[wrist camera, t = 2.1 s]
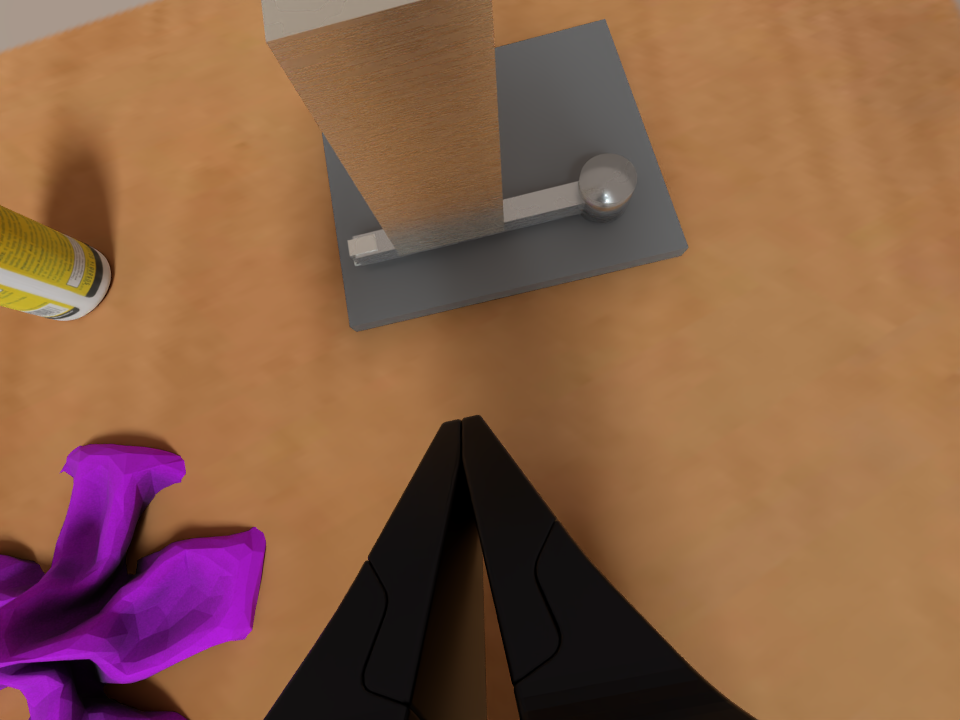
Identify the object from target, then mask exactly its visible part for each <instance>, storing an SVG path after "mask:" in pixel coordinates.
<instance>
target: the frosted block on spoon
mask: <svg viewBox="0 0 960 720" xmlns="http://www.w3.org/2000/svg"><path fill="white" fill-rule="evenodd" d="M261 2H262V11H263V20H264V29H265V37H266V43H267V44H268V46H269V48H270V49H271V51H272V52H273V54H274V56H275V57H276V59H277V60H278V62H279V64H280V65H281V67H282V68H283V70H284V72H285V73H286V75H287V76H288V78H289V80H290V81H291V83H292V84H293V86H294V88H295V89H296V91H297V92H298V94H299V96H300V97H301V99H302V100H303V102H304V104H305V105H306V107H307V108H308V110H309V112H310V113H311V115H312V116H313V118H314V120H315V121H316V123H317V124H318V126H319V128H320V129H321V131H322V132H323V134H324V136H325V137H326V139H327V140H328V142H329V144H330V145H331V147H332V148H333V150H334V152H335V153H336V155H337V156H338V158H339V160H340V161H341V163H342V164H343V166H344V168H345V169H346V171H347V172H348V174H349V176H350V177H351V179H352V180H353V182H354V184H355V185H356V187H357V188H358V190H359V192H360V193H361V195H362V196H363V198H364V200H365V201H366V203H367V204H368V206H369V208H370V209H371V211H372V212H373V214H374V216H375V217H376V219H377V220H378V222H379V224H380V225H381V227H382V228H383V229H381V230H377V231H373V232H369V233H365V234H361V235H357V236H353V239H352V240H348V247H349V254H350V257H351V258H352V259H353V260H354V261H355V262H356V264H357V265H359V264H361V265H362V266H366V265H370V264H374V263H378V262H382V261H386V260H390V259H395V258H399V257H403V256H407V255H411V254H415V253H419V252H424V251H428V250H432V249H436V248H440V247H444V246H448V245H452V244H457V243H461V242H465V241H469V240H473V239H477V238H481V237H486V236H490V235H494V234H498V233H502V232H506V231H510V230H515V229H519V228H523V227H527V226H531V225H535V224H539V223H543V222H548V221H552V220H556V219H560V218H564V217H568V216H572V215H577V214H580V215H581V216H582V217H583V218H584V219H586V220H588V221H590V222H593V223H608V222H611V221H614V220H615V219H617V218H618V217H620V216H621V214H622V213H623V212H624V210H625V208H626V206H627V204H628V202H629V200H630V197H631V195H632V193H633V191H634V189H635V187H636V184H637V172H636V170H635V167H634V166H633V164H632V163H631V162H630V161H629V160H627V159H626V158H624V157H623V156H620V155H617V154H611V153H606V154H600V155H597V156H595V157H593V158H591V159H590V160H588V161H587V162H586V163H585V165H584V166H583V168H582V170H581V173H580V177H579V181H577V182H573V183H569V184H565V185H561V186H557V187H553V188H548V189H544V190H540V191H536V192H532V193H528V194H524V195H520V196H516V197H512V198H508V199H504V200H503V195H502V177H501V158H500V140H499V121H498V103H497V84H496V66H495V47H494V29H493V10H492V0H261Z"/></svg>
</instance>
